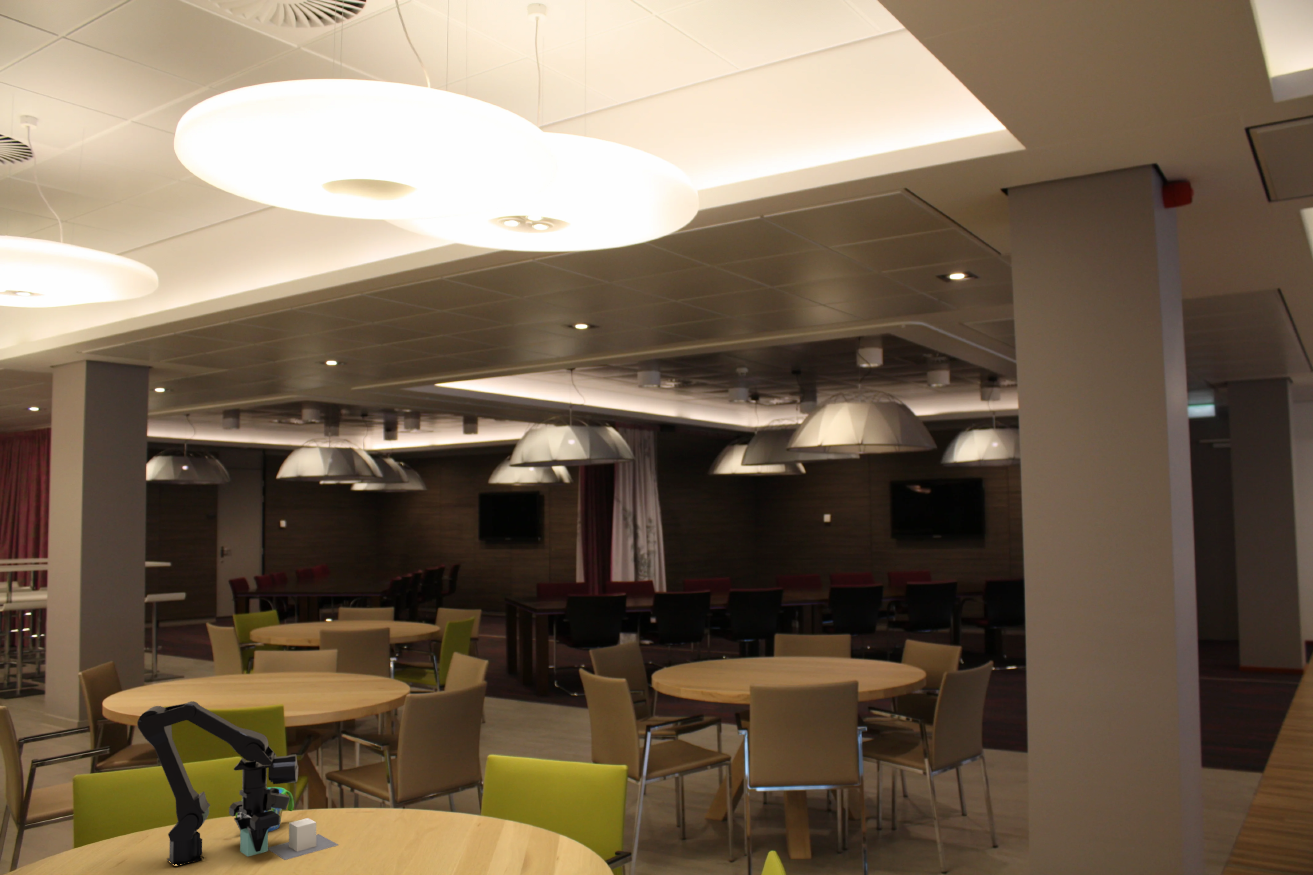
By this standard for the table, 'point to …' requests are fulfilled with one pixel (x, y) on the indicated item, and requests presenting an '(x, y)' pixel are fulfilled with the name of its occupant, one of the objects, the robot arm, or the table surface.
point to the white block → (302, 834)
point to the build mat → (289, 853)
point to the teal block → (247, 844)
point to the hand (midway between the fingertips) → (254, 848)
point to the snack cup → (279, 810)
